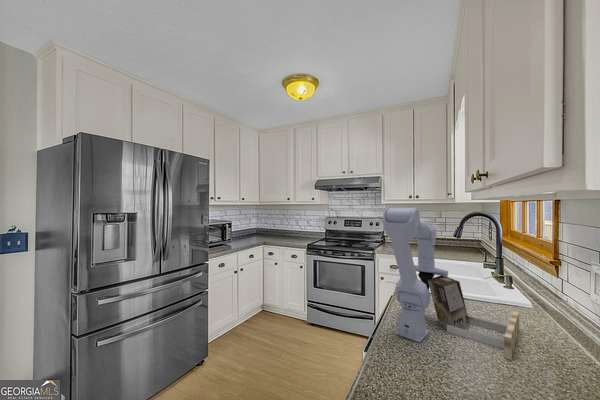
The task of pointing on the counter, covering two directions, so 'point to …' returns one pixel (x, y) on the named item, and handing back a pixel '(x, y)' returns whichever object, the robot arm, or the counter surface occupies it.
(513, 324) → the back plate
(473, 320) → the rails
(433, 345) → the counter surface
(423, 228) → the robot arm
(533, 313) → the counter surface
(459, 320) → the coffee box
